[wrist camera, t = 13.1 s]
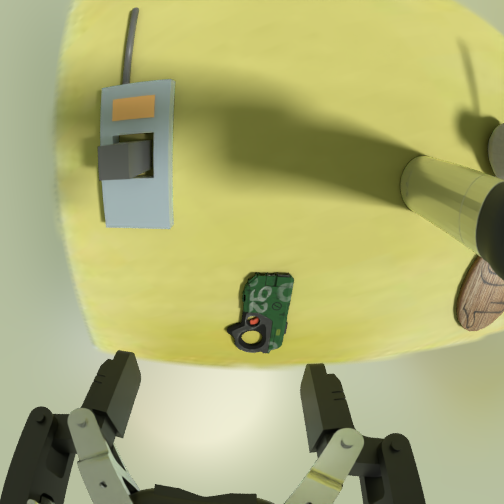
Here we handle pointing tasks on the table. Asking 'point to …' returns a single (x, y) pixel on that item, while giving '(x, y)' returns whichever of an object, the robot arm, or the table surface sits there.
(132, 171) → the block
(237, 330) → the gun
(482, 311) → the trivet
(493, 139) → the coffee pot
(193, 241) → the table surface
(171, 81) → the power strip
